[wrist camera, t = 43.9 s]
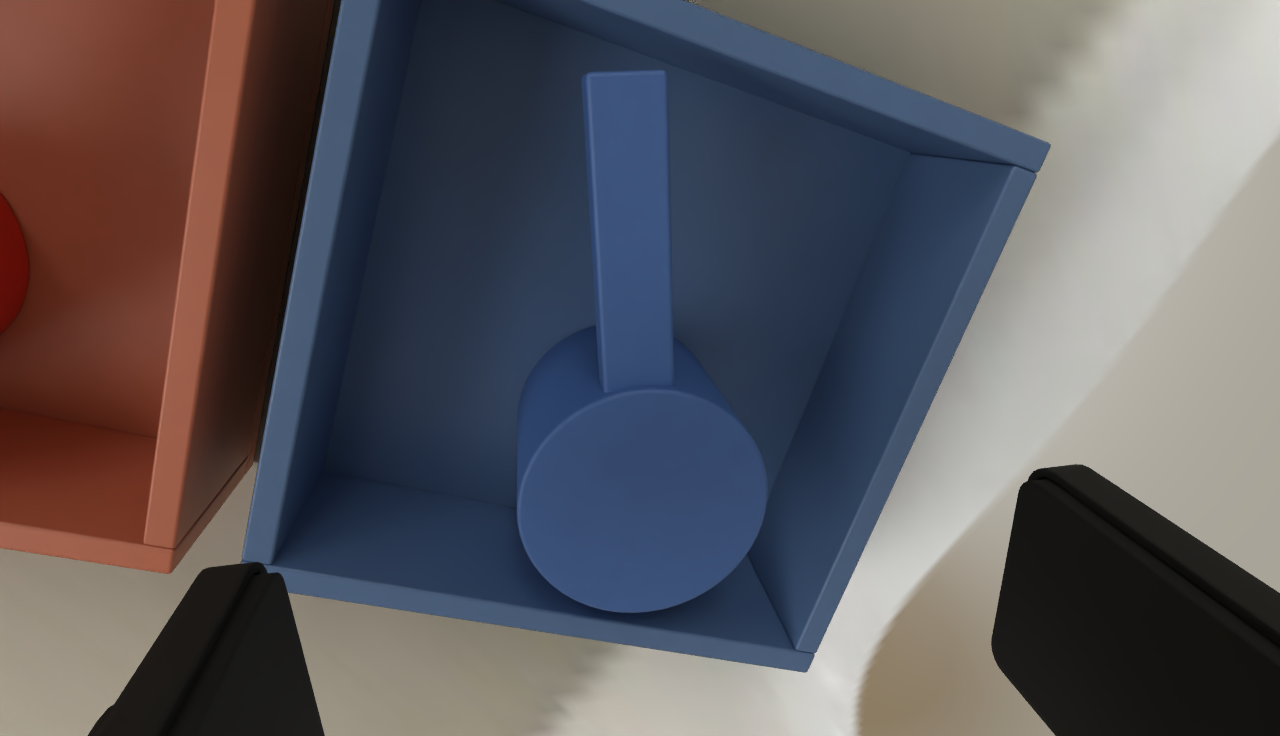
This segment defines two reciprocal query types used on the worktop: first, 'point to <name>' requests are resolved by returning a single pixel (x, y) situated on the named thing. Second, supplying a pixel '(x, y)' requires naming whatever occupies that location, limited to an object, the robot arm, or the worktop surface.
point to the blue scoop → (632, 398)
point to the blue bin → (564, 301)
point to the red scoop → (11, 266)
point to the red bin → (145, 259)
